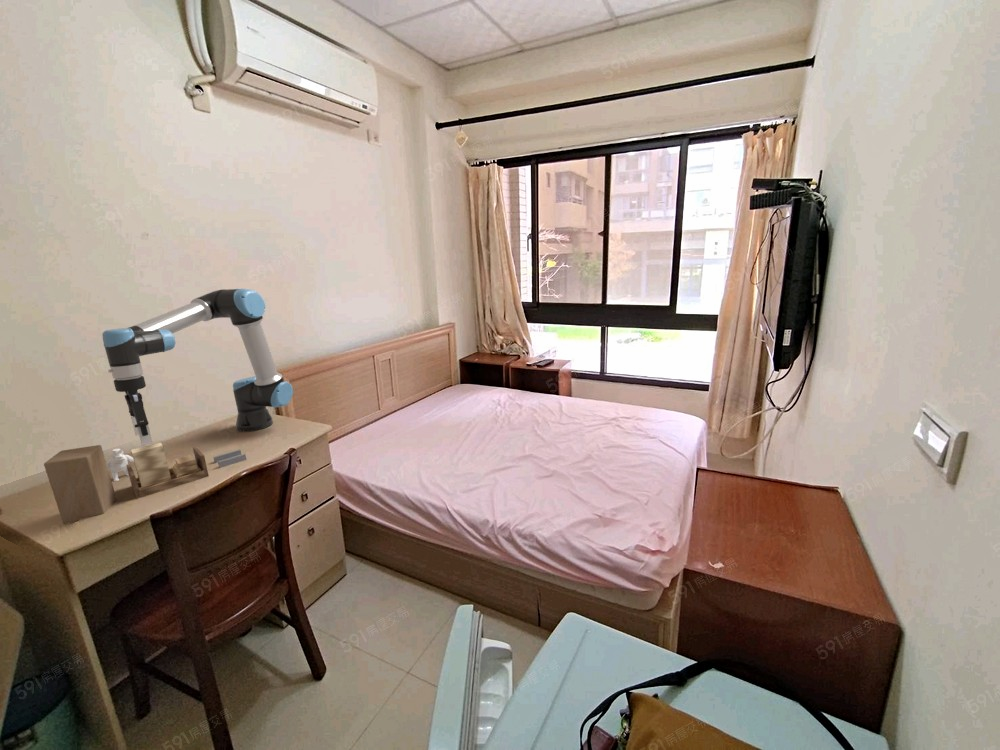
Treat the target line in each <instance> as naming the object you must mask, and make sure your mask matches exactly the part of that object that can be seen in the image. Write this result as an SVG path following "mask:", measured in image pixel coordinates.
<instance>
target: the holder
mask: <svg viewBox="0 0 1000 750" xmlns="http://www.w3.org/2000/svg"><path fill="white" fill-rule="evenodd" d="M246 455H247V454H246V453H242V451H241V449H235V450H231V451H229V452H226V453H223V454H222V453H221V454H218V455H214V456H213V462H214V463H215V464H216V463H218V468H219V469H220V468H224V467H228V466H230V465H233V464H238V463H240V462H244V461H246V460H247V456H246Z"/></svg>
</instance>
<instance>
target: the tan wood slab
mask: <svg viewBox="0 0 1000 750" xmlns="http://www.w3.org/2000/svg"><path fill="white" fill-rule="evenodd" d="M130 451H131V455H132V456H131V457H133V460H134V466H135V471H136V474H137V478H139V482H140V485H141V487H144V486H147V485H150V484H154V483H157V482H160V481H164V480H167V479H170V478H171V476H170V472H169V465H168V461H167V456H166V452H165V450H164V446H163V444H162V442H157V443H153V444H148V445H144V446H141V447H137V448H133V449H131V450H130Z"/></svg>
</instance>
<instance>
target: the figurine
mask: <svg viewBox="0 0 1000 750" xmlns="http://www.w3.org/2000/svg"><path fill="white" fill-rule="evenodd" d="M124 453H125V452H124V450H122V449H121V448H114V449H112V450H111V453H110V455H109V457H111V458H110V459H108V460H106V464H107V467H108V471H109V472H110V473H111V474H112V475H111V476H112V479H113V482H118V481H120V478H119V472H124V475H125V476H127V477H129V474H128V470H127V467H126V465H128V464H129V462H130V463H134V460H133V456H131V455H130V454H124ZM134 464H135V463H134Z"/></svg>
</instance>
